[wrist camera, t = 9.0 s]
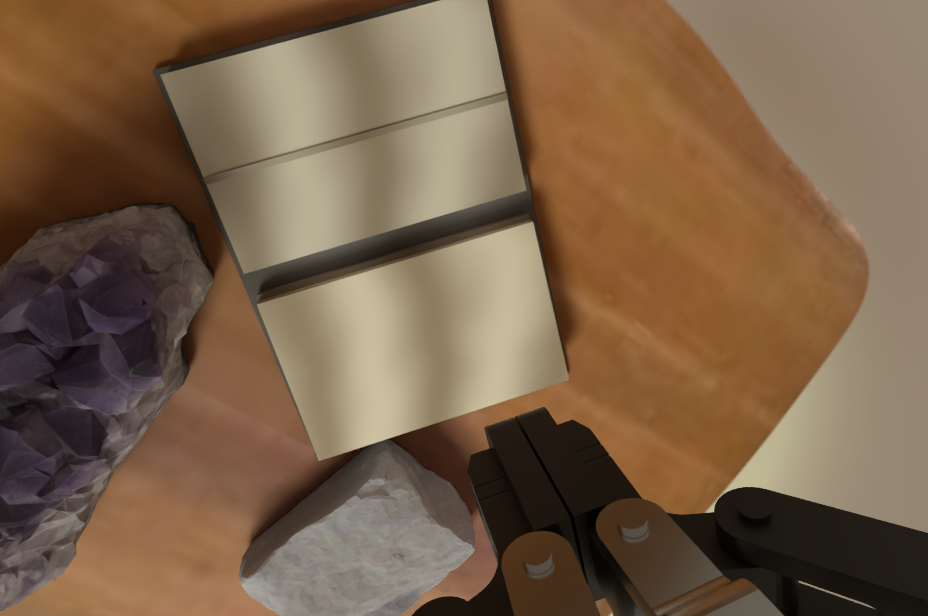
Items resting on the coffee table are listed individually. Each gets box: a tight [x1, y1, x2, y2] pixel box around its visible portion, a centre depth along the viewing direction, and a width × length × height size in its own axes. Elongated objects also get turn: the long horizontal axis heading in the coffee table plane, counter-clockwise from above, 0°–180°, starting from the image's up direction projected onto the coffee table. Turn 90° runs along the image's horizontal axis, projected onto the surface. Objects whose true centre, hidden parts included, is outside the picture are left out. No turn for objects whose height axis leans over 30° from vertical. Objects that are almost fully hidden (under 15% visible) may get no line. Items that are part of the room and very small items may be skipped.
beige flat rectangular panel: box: [256, 213, 569, 461], centre depth 32 cm, size 14×9×1 cm, turn 104°
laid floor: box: [153, 0, 568, 456], centre depth 31 cm, size 15×21×2 cm
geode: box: [0, 203, 214, 611], centre depth 26 cm, size 20×12×10 cm, turn 141°
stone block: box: [239, 439, 475, 616], centre depth 37 cm, size 12×5×10 cm
